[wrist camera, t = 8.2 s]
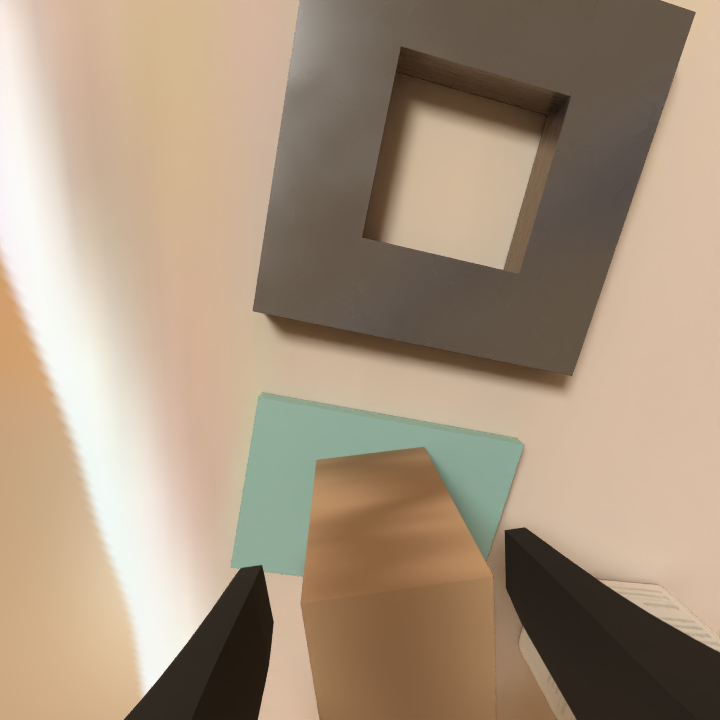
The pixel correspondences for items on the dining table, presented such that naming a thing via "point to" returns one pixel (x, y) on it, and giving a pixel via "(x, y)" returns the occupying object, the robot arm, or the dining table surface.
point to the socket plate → (545, 187)
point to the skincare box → (644, 597)
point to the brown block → (395, 595)
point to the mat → (346, 438)
